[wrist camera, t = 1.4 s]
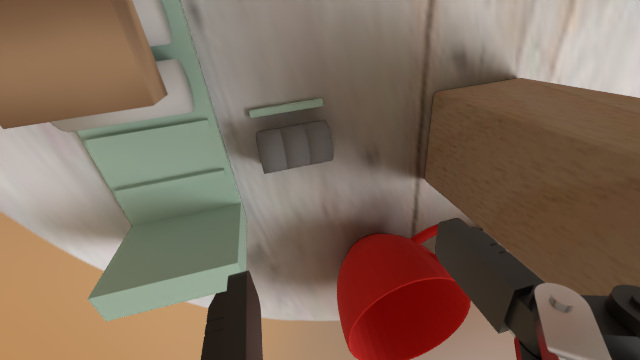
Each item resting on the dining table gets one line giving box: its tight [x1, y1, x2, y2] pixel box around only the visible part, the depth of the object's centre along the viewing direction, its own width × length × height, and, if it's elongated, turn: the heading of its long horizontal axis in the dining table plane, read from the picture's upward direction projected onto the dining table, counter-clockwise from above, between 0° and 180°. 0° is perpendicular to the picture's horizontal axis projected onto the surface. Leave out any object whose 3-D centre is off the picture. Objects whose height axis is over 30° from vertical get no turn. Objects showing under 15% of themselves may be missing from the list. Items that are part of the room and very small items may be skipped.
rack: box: [249, 98, 323, 164], centre depth 25 cm, size 5×6×1 cm
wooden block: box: [425, 78, 640, 296], centre depth 21 cm, size 10×10×20 cm
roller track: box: [50, 0, 247, 321], centre depth 17 cm, size 27×10×9 cm, turn 6°
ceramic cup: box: [337, 224, 471, 360], centre depth 30 cm, size 13×17×10 cm
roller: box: [256, 120, 333, 174], centre depth 24 cm, size 4×6×4 cm, turn 96°
